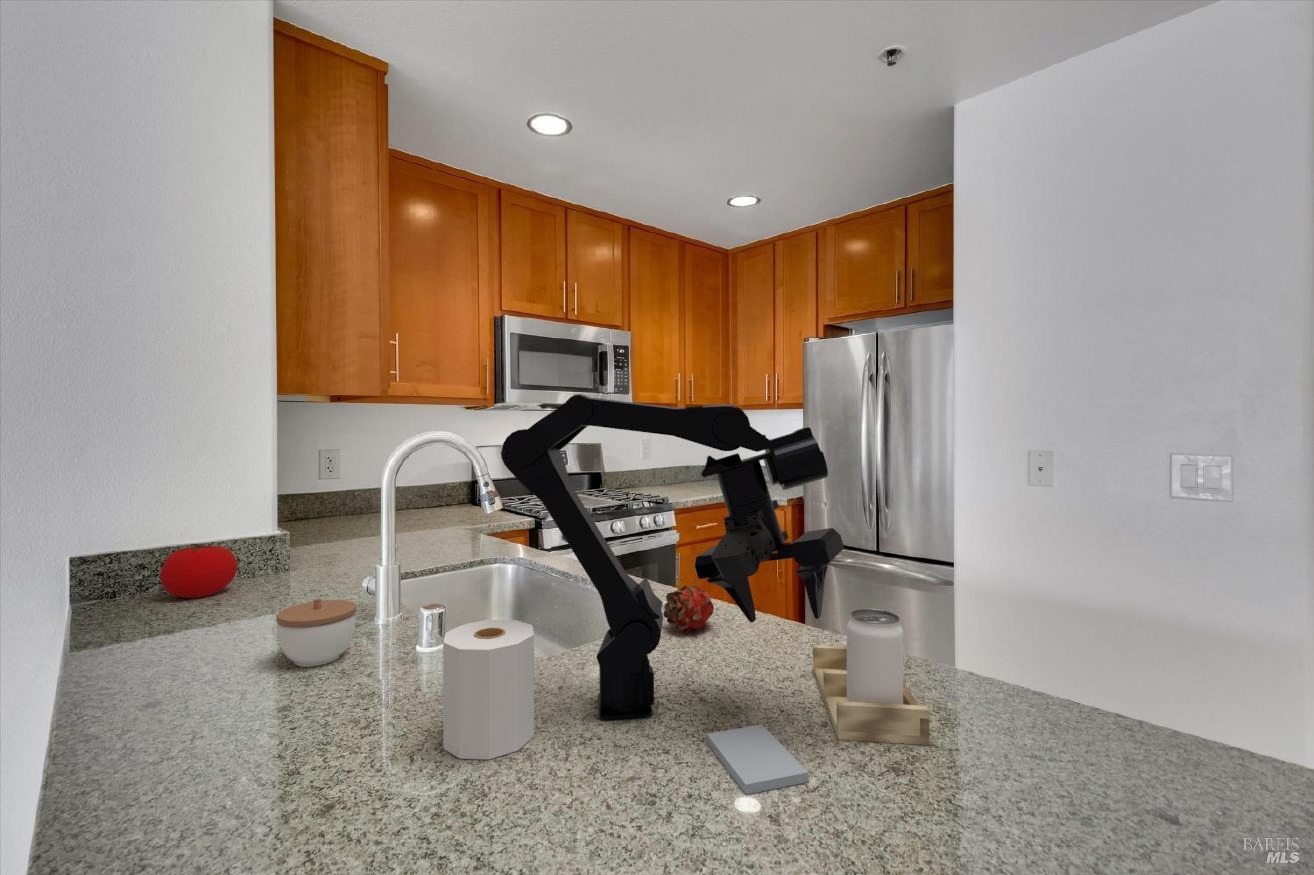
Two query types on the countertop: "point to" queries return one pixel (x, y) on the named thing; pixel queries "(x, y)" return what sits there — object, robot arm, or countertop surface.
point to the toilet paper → (488, 688)
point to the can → (874, 657)
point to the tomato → (198, 571)
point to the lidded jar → (316, 631)
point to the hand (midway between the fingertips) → (784, 619)
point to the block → (756, 759)
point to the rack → (866, 706)
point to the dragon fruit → (688, 608)
